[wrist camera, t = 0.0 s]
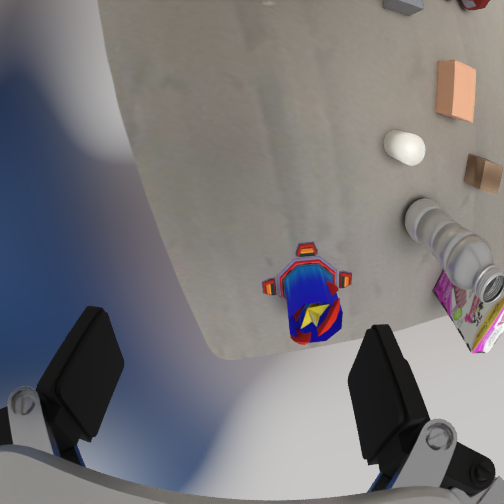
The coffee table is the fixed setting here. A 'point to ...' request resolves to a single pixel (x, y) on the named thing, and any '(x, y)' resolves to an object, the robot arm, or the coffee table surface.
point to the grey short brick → (404, 6)
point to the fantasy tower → (310, 295)
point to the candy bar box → (472, 314)
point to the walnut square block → (483, 174)
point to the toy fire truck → (475, 4)
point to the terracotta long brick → (456, 90)
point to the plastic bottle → (455, 249)
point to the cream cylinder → (404, 147)
